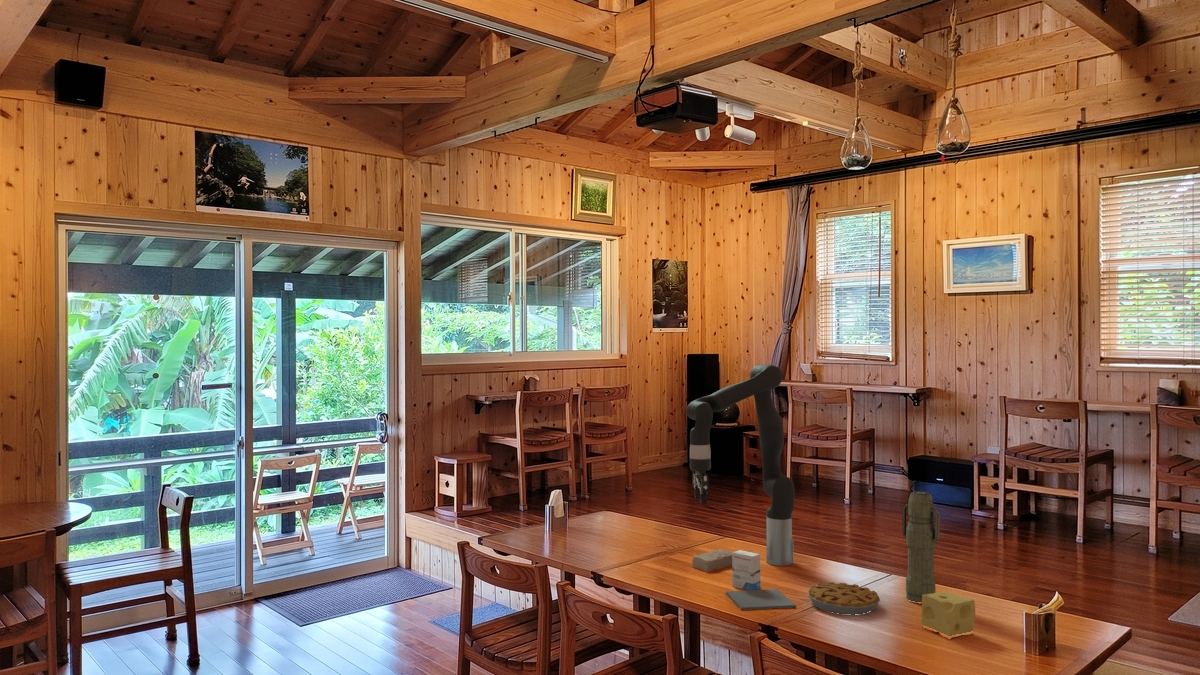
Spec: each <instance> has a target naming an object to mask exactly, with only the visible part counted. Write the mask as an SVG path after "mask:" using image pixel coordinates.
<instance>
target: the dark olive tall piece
mask: <svg viewBox="0 0 1200 675" xmlns="http://www.w3.org/2000/svg"><path fill="white" fill-rule="evenodd" d="M907 510H908V511H907ZM907 512H908V520H907ZM901 515H902V516H901V517H902V521H901V522H902V526H901V528H902V536H904V537H905V540H906V542H905V543H906V547H907V575H906V577H905V593H906V597H905V598H907V599H908V600H911V601H915V602H922V595H925V594H933V593H936V579H935V576H934V573H935V572H934V570H935V568H934V566H935V562H934V559H935V554H934V552H935V550H936V542H938V541H940V538H941V534H940V531H941V529H940V528H941V512H940V511H939V510H938V509H937V508H935V507H934V500H933V497H932V494H931V493H929V491H923V490H914V491H912V492H910V495H909V497H908V503H906V504H905V505H904V506H903V507H902V513H901ZM933 519H934V520H933ZM907 522H908V523H907ZM907 599H906V600H907ZM908 600H907V601H908Z"/></svg>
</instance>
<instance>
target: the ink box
mask: <svg viewBox="0 0 1200 675" xmlns="http://www.w3.org/2000/svg"><path fill="white" fill-rule="evenodd" d="M731 569H732V572H731V573H732V587H735V588H738V589H742V590H760V589H761V587H762V586H761V554H760V553H755V552H751V551H745V550H741V549H739V550H736V551H733V553H732V565H731Z"/></svg>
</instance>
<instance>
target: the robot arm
mask: <svg viewBox="0 0 1200 675" xmlns="http://www.w3.org/2000/svg"><path fill="white" fill-rule="evenodd" d="M782 380H783V373H782V370H781V369H780V368H779V367H778V366H776V365H774V364H756V365H755V366H753V367H752V369H751V370H750V376H749V379H746V380H744V381H741V382H737V383H733V384H730V385H727V386H725V387H723V388H721V389H719V390H716V391H715V392H713V393H712V394H710V395H706V396H702V397H700V398H699V397H698V398H697V399H695V400H692V401H690V403H688V405H687V406H686V410H685V413H686V415H687V417H688V418H689V419H691V420H693V421H695V423H694V427H692V428H691V429H690V432H689V444H690V445H689V469H690V470H691V471H692V486H693V488H694V499H695V500H700V504H702V505H706V504H708V493H710V482H709V481H710V479H709V475H707V474H706V471H710V470H711V469H712V461H711V458H712V457H711V455H712V454H711V451H712V450H711V444H710V441H711V440H710V438H711V437H710V432H711V428H712V423H713V418H714V413H716V412H717V413H718V412H722V411H724V410H726V409H728V408H730V407H731V406H733V405H736V404H737V403H740V402H741V401H743V400H746V399H747V398H751V397H753V398H754V404H755V410H756V418H757V428H758V435H759V436H758V437H759V441H760V442H759V443H760V444H759V445H760V451H761V452H760V453H761V461H762V486H763V491H764V492H765V494H766V496H768V497H770V498H771V500H772V501H771V507H768V508H767V509H766V548H765V549H766V550H765V551H766V556H765V557H766V561H765V562H766V563H767V564H769V565H772V566H777V567H778V566H780V567H781V566H782V567H785V566H790V565H794V538H792V524H793V522H792V516H793V515H792V514H793V512H794V508H795V492H796V491H795V483H794V481H793V480H792V479H791V478H790V477H788V476H786V475H784V474H783V473H782V467H781V454H782V451H783V447H784V443H785V433H784V425H783V424H784V423H783V420H782V418H781V416H780V413H779V412H778V410H777V408H776V405H775V404H774V402H773V397H772V390H773V389H776V388H778V387H779V386H780V385H781V383H782Z"/></svg>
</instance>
